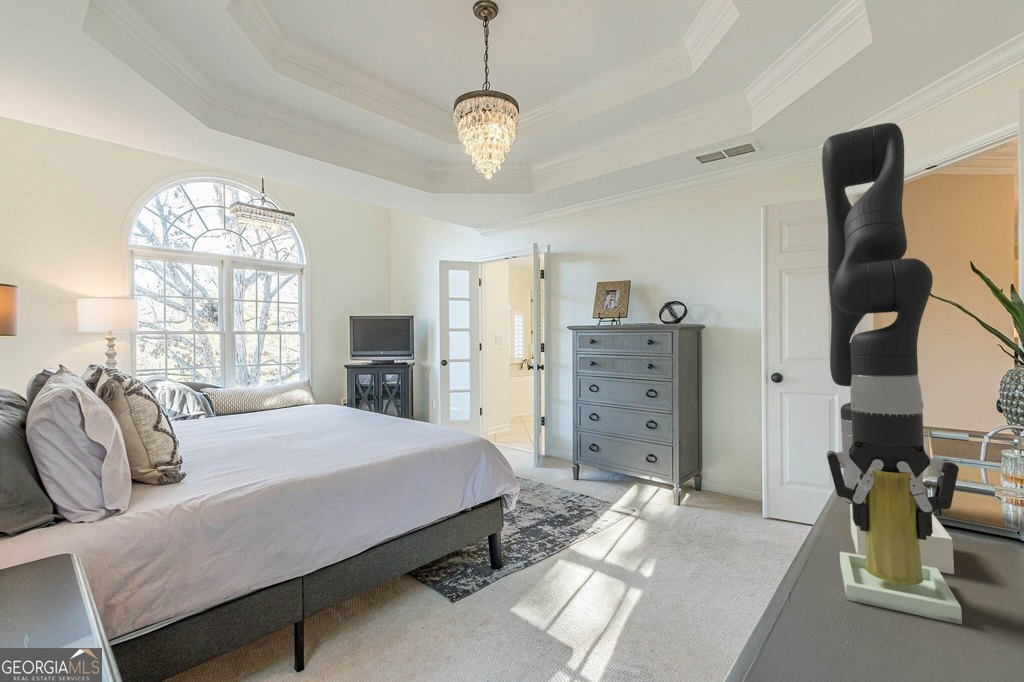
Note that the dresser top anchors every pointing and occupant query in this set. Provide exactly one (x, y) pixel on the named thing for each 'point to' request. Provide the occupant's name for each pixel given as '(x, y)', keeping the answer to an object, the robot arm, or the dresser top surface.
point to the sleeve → (932, 550)
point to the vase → (892, 530)
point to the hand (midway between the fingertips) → (890, 532)
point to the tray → (900, 591)
